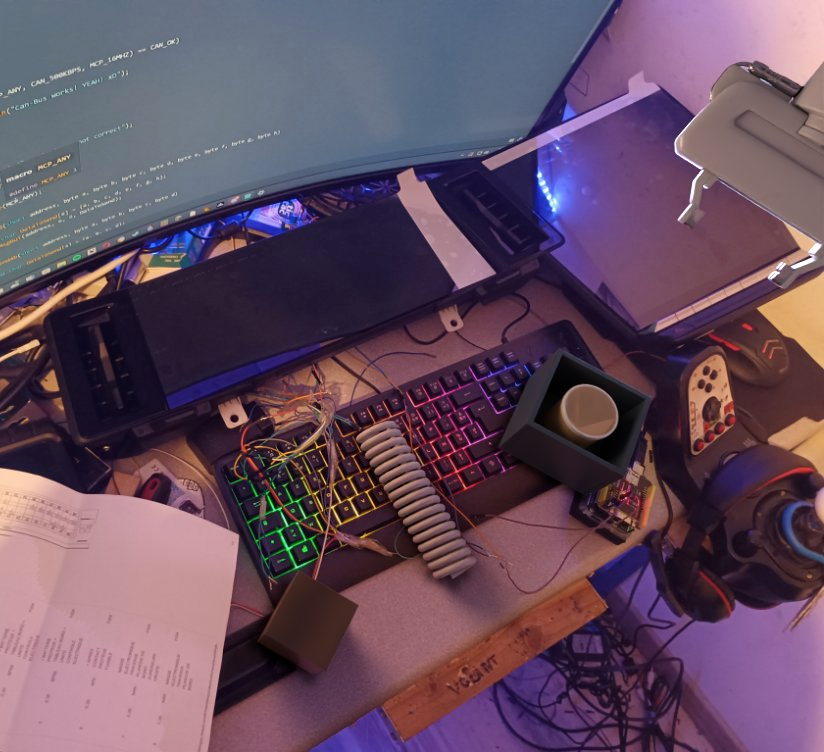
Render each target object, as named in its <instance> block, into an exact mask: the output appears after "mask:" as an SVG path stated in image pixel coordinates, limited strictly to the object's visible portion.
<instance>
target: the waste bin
mask: <svg viewBox="0 0 824 752" xmlns="http://www.w3.org/2000/svg"><path fill="white" fill-rule="evenodd" d="M582 384H588V385H593V386H596V387H598V388H600V389H602V390H603V391H605V392H606V393H607V394H608V395H609V396H610V397H611V398H612V400H613V401H614V403H615V405H616V407H617V411H618V423H617V426H616V428H615V430H614V431H613V432H612V433H611V434H610V435H608V436H607V437H605V438H602V439H599V440H598V441H596V442H595V443H593V444H592V445H590V446H589V447H587V448H586V449H582V448H580V447H579V446H577V445H575V444H573V443H571V442H569V441H568V440H566V439H564V438H562V437H560V436H558V435H557V434H555V433H553V432H551V431H549V430H547V429H546V428H544V427H542V426H540V425H538V424H536V421H537V420H538V418H539V417H540V416H541V415H543V414H544V413H545V412H546V411H547V410H549V409H550V408H551V407H552V406H553V405H554V404H556V403H557V402H558V401H559V400H560V399H562V398H563V397H564V395H565V394H566V393H567V392H568V391H569V390H570V389H571V388H573V387H575V386H577V385H582ZM652 400H653V397H652V396H650V395H648V394H646V393H644V392H643V391H640V390H639V389H637V388H635V387H633V386H631V385H629V384H627V383H625V382H624V381H621V380H620V379H618V378H616V377H614V376H612V375H610V374H608V373H607V372H605V371H603V370H601V369H599V368H597V367H595V366H594V365H591V364H589V363H588V362H586V361H585V360H582V359H580V358H579V357H577V356H574V355H573V354H571V353H569V352H568V351H565V350H563V349H562V348H558V349H556V351H555V352H553V353H552V355H551V356H550V357H549V358H547V360H546V361H544V362H543V364H541V365H540V366H539V368H538V369H536V370H535V372H534V373H533V374H531V376H529V377H528V380H527V382H526V383H525V386H524V389H523V391H522V392H521V395H520V398H519V400H518V402H517V404H516V407H515V409H514V411H513V413H512V415H511V418H510V420H509V422H508V424H507V426H506V429H505V431H504V434H503V435H502V438H501V440H500V442H499V445H498V449H500V450H501V451H504V452H505V453H507V454H509V455H510V456H513V457H514V458H516V459H518V460H519V461H521V462H523V463H525V464H526V465H529V466H530V467H533V468H534V469H536V470H537V471H540V472H541V473H543V474H545V475H546V476H549V477H550V478H552V479H554V480H556V481H558V482H559V483H561V484H563V485H565V486H567V487H569V488H571V490H574V491H576V492H577V493H580V494H581V495H583V496H585V497H589V496H591V495H593V494H595V493H596V492H598V491H600V490H603V489H604V488H607V487H608V486H610V485H612V484H614V483H616V482H618V481H620V480H621V479H623V478H625V477H626V474H627V471H628V468H629V465H630V462H631V459H632V457H633V453H634V451H635V449H636V445H637V443H638V440H639V437H640V434H641V431H642V429H643V425H644V423H645V420H646V417H647V414H648V411H649V409H650V405H651V403H652ZM588 492H589V493H588ZM590 493H592V494H590Z"/></svg>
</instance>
